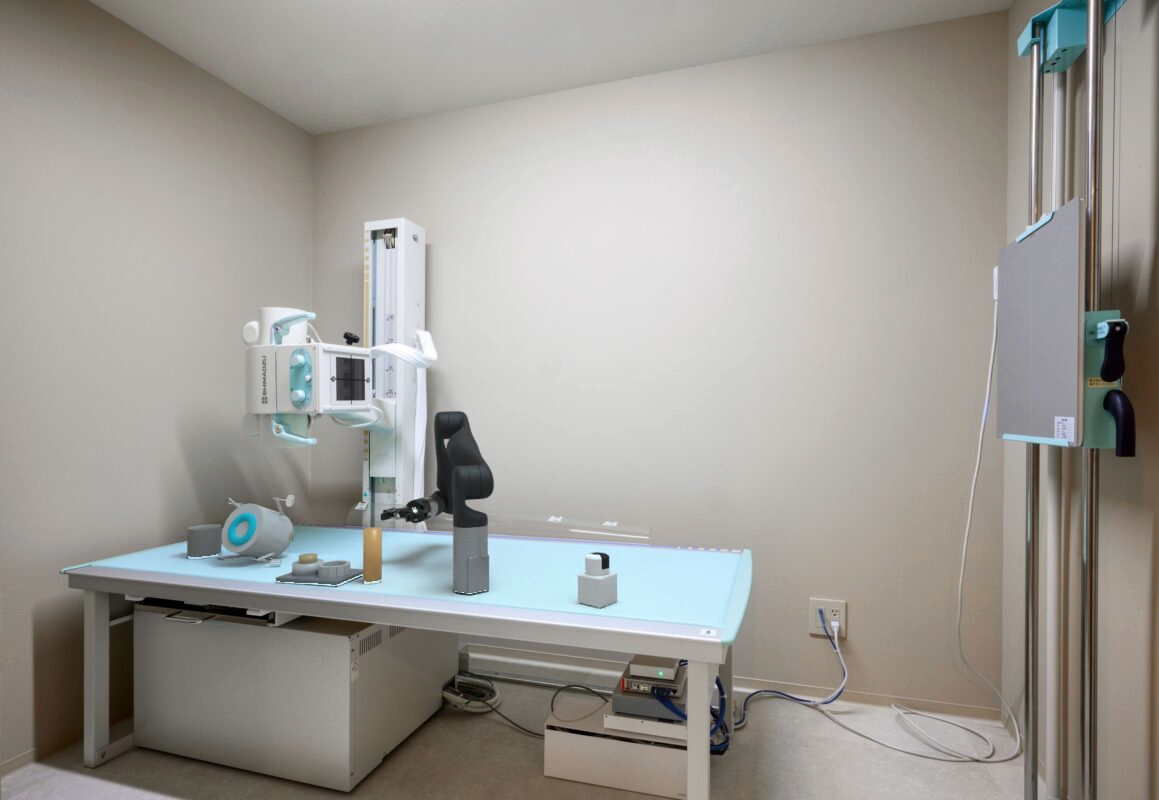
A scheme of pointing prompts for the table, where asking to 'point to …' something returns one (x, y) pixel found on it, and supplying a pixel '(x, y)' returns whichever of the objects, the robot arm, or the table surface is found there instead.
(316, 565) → the housing
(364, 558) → the cylinder
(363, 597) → the table surface
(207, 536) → the coffee mug
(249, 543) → the satellite
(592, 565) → the medicine bottle
